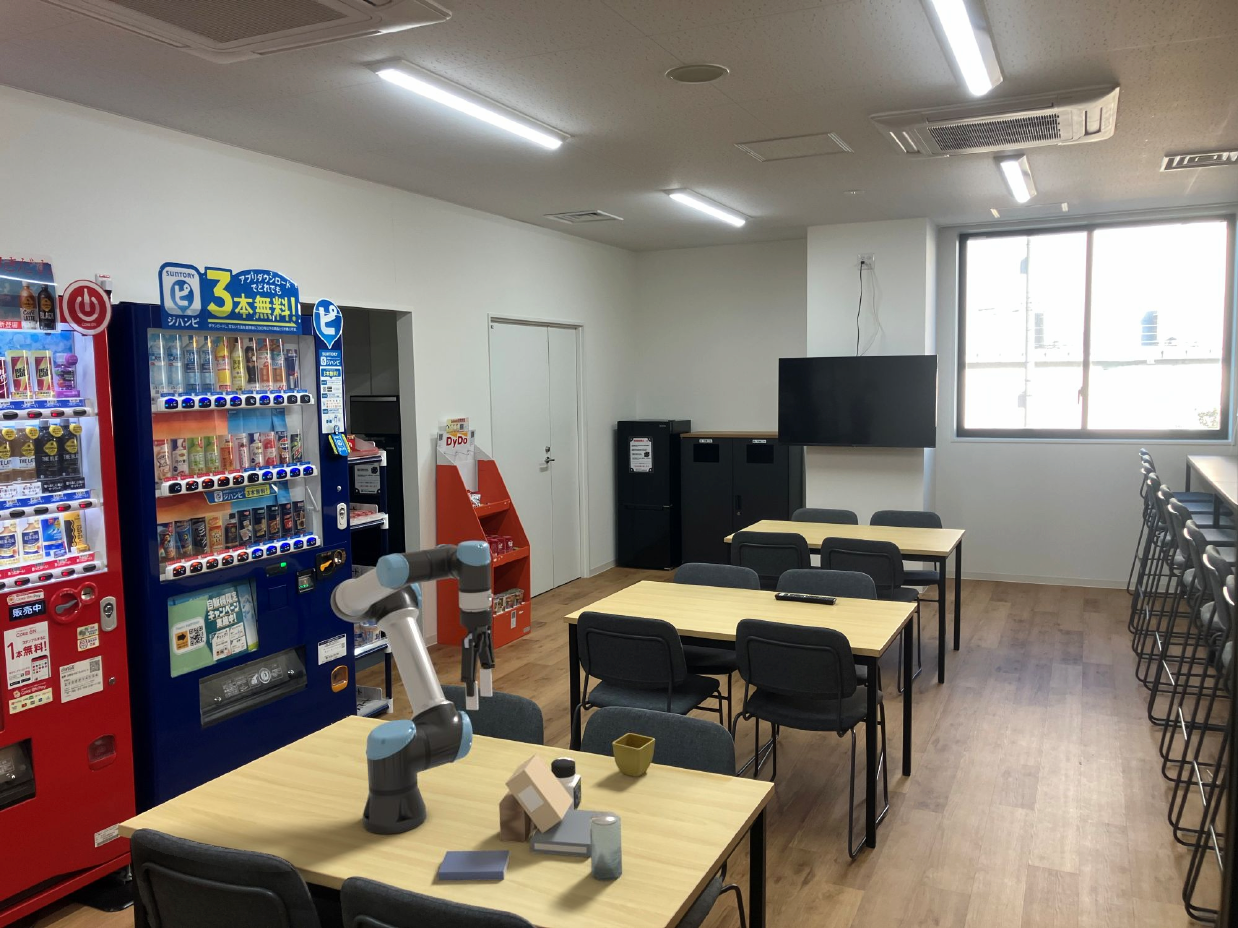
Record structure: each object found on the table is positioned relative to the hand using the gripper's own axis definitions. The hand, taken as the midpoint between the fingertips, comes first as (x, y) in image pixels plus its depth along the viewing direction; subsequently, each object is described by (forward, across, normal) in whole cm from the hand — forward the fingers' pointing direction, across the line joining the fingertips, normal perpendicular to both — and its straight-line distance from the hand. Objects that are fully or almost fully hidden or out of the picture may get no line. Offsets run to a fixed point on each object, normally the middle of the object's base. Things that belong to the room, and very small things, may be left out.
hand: (479, 702), depth 216 cm
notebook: (+32, -17, -4) cm, 36 cm away
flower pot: (+32, +38, -29) cm, 57 cm away
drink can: (+31, -14, -33) cm, 48 cm away
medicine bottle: (+32, +15, -16) cm, 38 cm away
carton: (+26, 0, -18) cm, 32 cm away
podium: (+31, 0, -21) cm, 38 cm away
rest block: (+31, 0, -8) cm, 32 cm away
